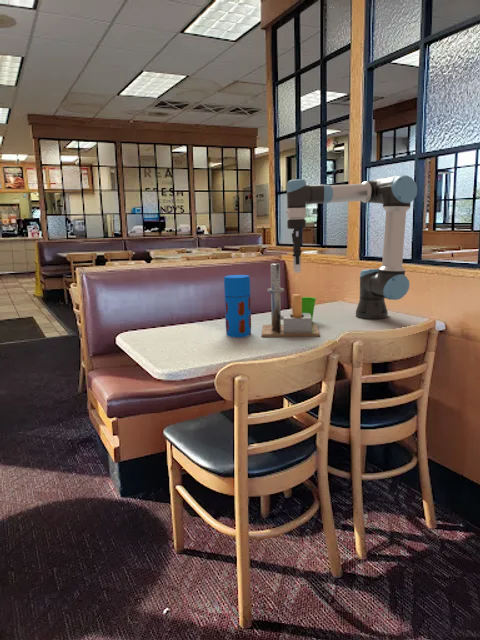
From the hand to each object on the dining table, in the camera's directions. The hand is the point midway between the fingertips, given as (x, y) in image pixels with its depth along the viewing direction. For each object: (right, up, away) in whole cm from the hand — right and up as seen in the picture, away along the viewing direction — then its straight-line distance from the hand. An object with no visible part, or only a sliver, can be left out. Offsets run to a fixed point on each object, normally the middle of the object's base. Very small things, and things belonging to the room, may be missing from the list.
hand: (296, 270), depth 204 cm
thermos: (-24, -27, +5) cm, 37 cm away
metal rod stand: (-2, -26, +7) cm, 27 cm away
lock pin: (+1, -25, +5) cm, 25 cm away
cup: (+7, -22, +26) cm, 34 cm away
